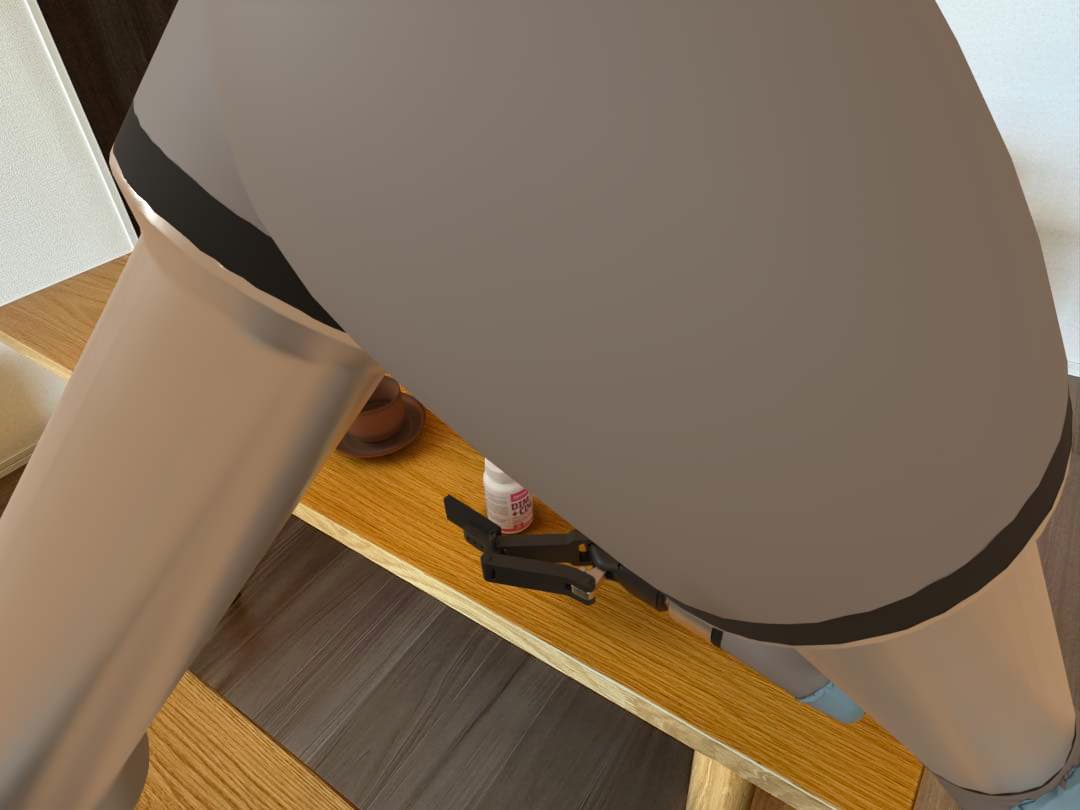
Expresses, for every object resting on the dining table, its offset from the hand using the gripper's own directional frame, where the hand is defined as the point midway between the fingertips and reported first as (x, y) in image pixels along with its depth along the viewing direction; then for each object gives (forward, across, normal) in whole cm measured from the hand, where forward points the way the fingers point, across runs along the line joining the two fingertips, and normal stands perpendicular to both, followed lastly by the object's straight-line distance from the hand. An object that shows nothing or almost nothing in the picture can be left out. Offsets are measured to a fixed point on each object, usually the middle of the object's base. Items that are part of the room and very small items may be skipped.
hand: (497, 466), depth 68 cm
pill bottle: (-1, 0, -7) cm, 7 cm away
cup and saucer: (+21, 0, -7) cm, 22 cm away
